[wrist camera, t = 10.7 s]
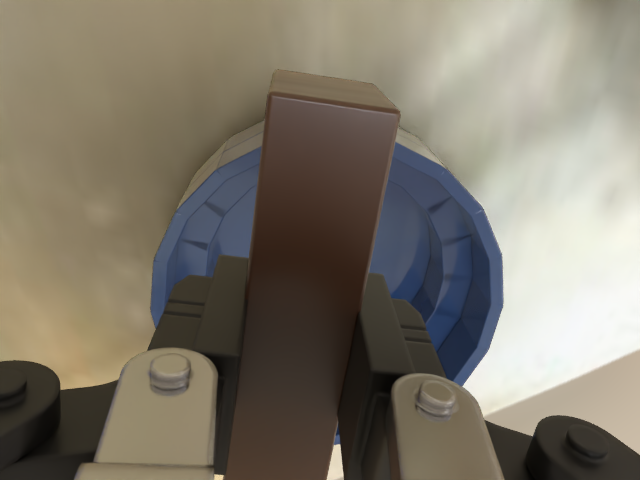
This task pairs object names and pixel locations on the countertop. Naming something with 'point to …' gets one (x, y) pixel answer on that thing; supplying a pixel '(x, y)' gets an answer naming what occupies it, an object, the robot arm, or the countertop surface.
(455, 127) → the countertop surface
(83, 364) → the countertop surface
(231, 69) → the countertop surface
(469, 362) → the bowl
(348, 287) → the stick
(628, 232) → the countertop surface
